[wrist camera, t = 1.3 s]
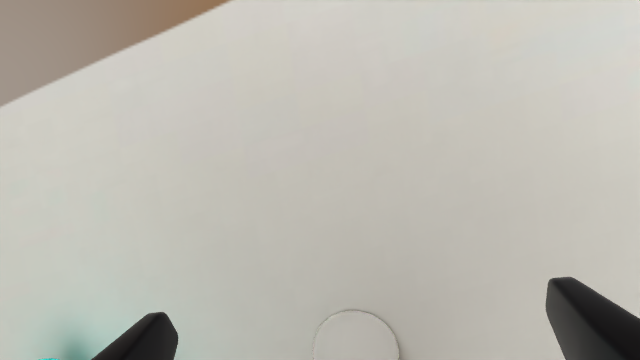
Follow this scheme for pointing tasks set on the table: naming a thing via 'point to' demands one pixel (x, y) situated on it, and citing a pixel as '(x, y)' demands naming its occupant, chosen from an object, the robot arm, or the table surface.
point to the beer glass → (354, 338)
